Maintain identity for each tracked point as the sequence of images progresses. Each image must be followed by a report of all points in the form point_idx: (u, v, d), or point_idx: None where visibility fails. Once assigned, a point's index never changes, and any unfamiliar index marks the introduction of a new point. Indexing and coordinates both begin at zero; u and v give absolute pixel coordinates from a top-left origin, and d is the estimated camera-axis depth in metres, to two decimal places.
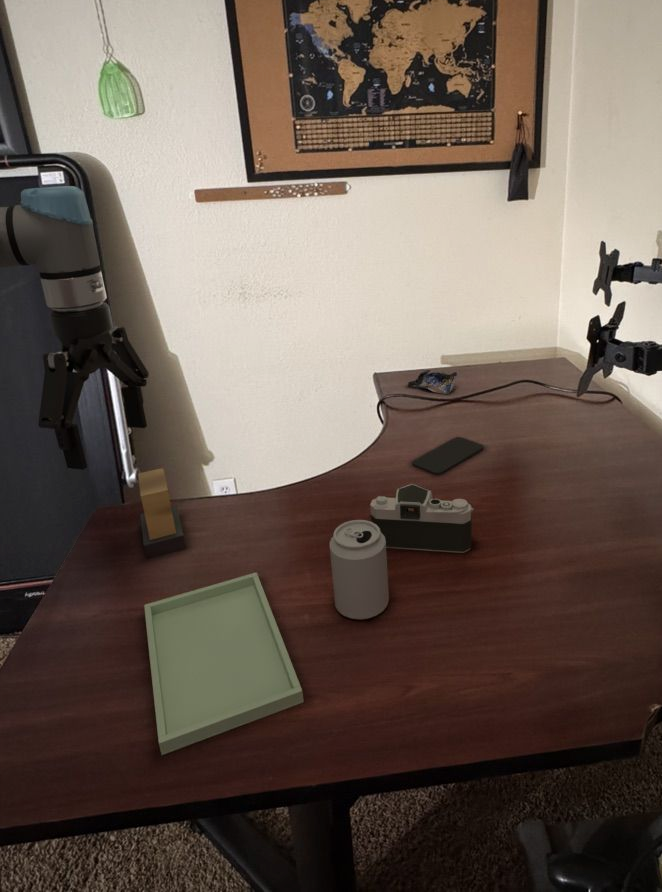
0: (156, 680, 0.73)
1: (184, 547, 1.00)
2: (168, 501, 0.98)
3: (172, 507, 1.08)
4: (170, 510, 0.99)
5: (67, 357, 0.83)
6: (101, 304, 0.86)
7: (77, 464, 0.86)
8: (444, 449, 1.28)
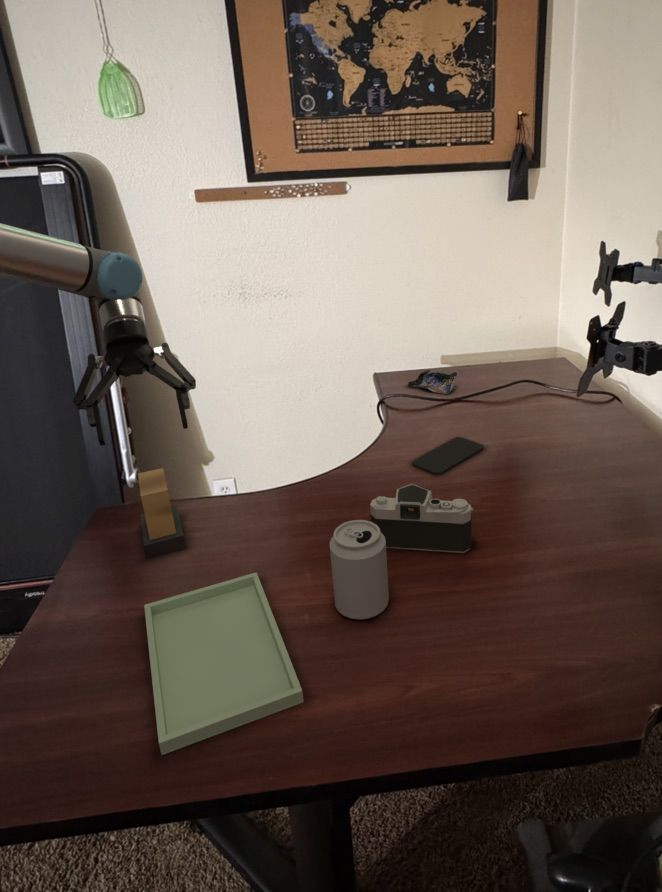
0: (156, 680, 0.73)
1: (184, 547, 1.00)
2: (168, 501, 0.98)
3: (172, 507, 1.08)
4: (170, 510, 0.99)
5: None
6: None
7: None
8: (444, 449, 1.28)
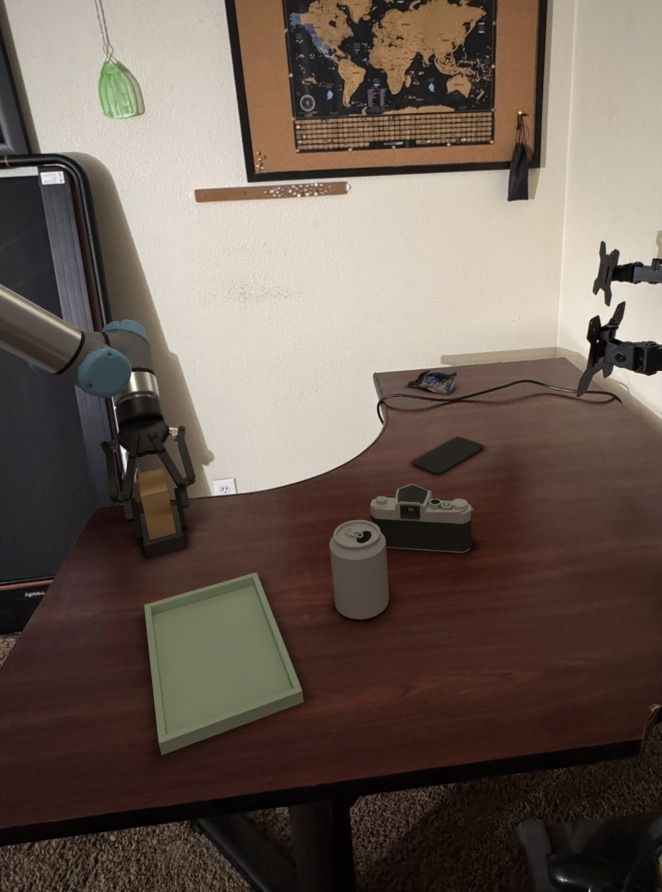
0: (156, 680, 0.73)
1: (184, 547, 1.00)
2: (168, 501, 0.98)
3: (172, 507, 1.08)
4: (170, 510, 0.99)
5: None
6: None
7: None
8: (444, 449, 1.28)
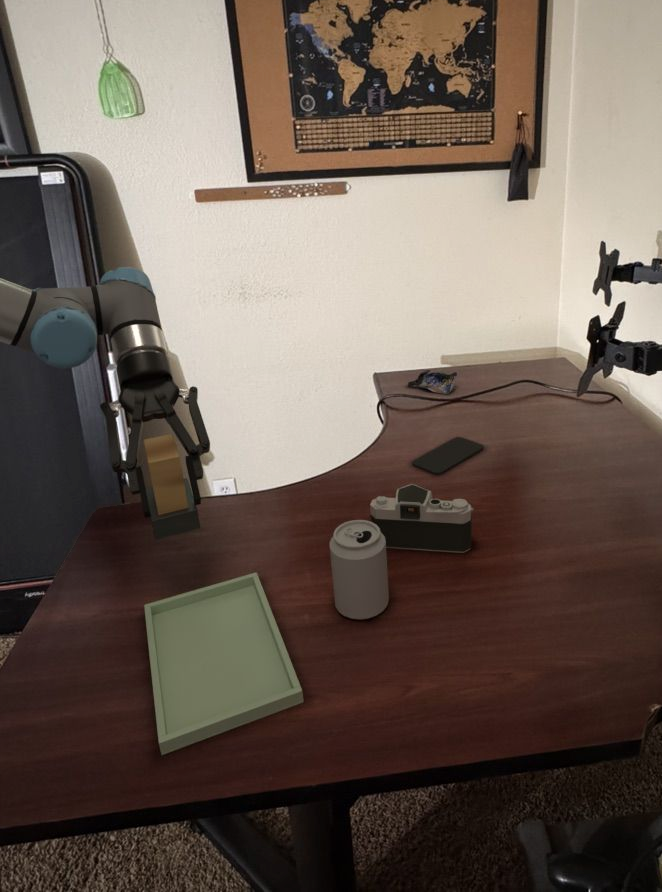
0: (156, 680, 0.73)
1: (198, 524, 0.87)
2: (180, 470, 0.84)
3: None
4: (182, 480, 0.85)
5: None
6: None
7: None
8: (444, 449, 1.28)
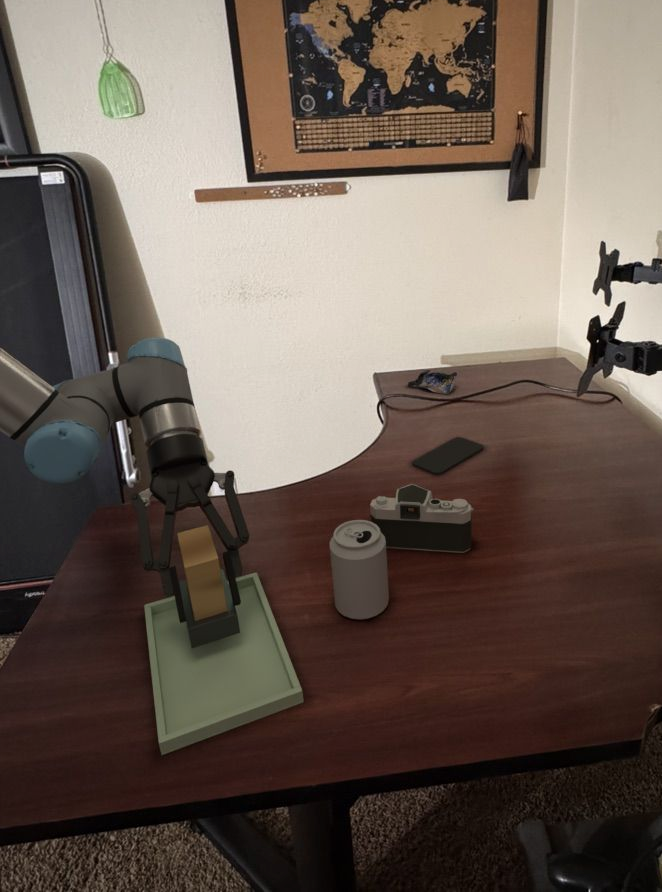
0: (156, 680, 0.73)
1: (238, 628, 0.79)
2: (219, 572, 0.77)
3: None
4: (221, 583, 0.77)
5: None
6: None
7: None
8: (444, 449, 1.28)
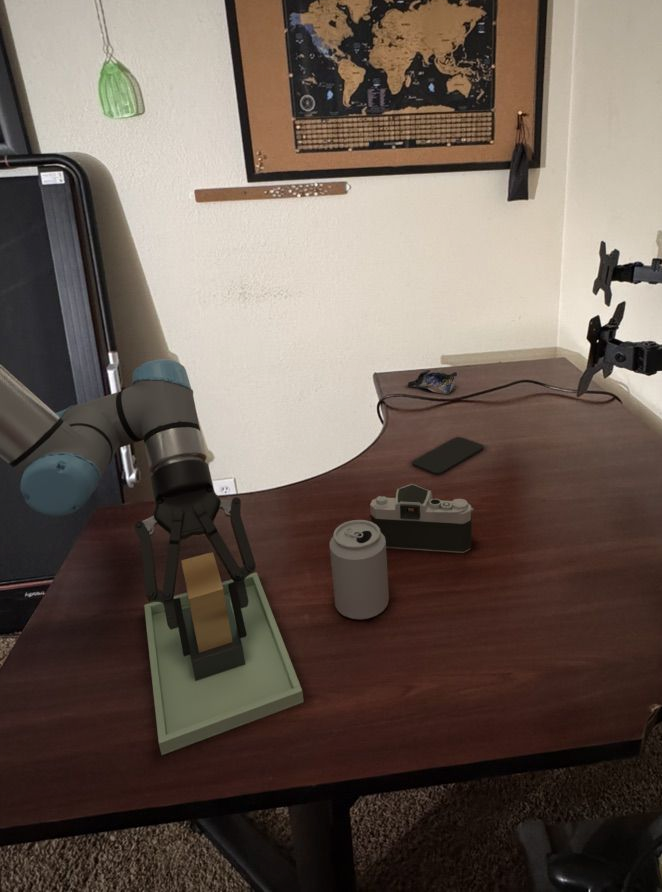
0: (156, 680, 0.73)
1: (243, 660, 0.77)
2: (224, 603, 0.74)
3: None
4: (226, 614, 0.75)
5: None
6: None
7: None
8: (444, 449, 1.28)
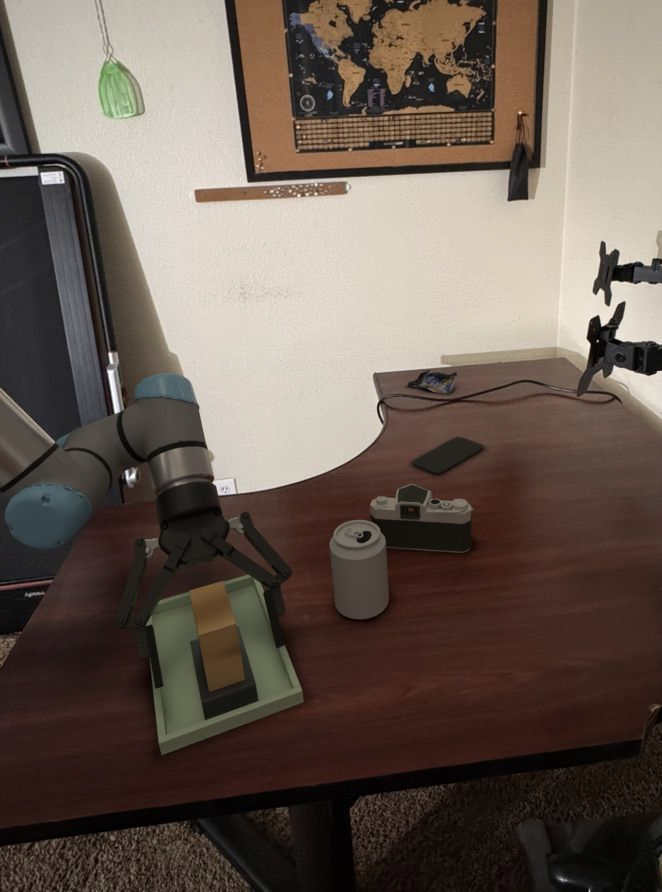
0: None
1: (256, 699, 0.71)
2: (236, 638, 0.69)
3: None
4: (238, 650, 0.69)
5: None
6: None
7: None
8: (444, 449, 1.28)
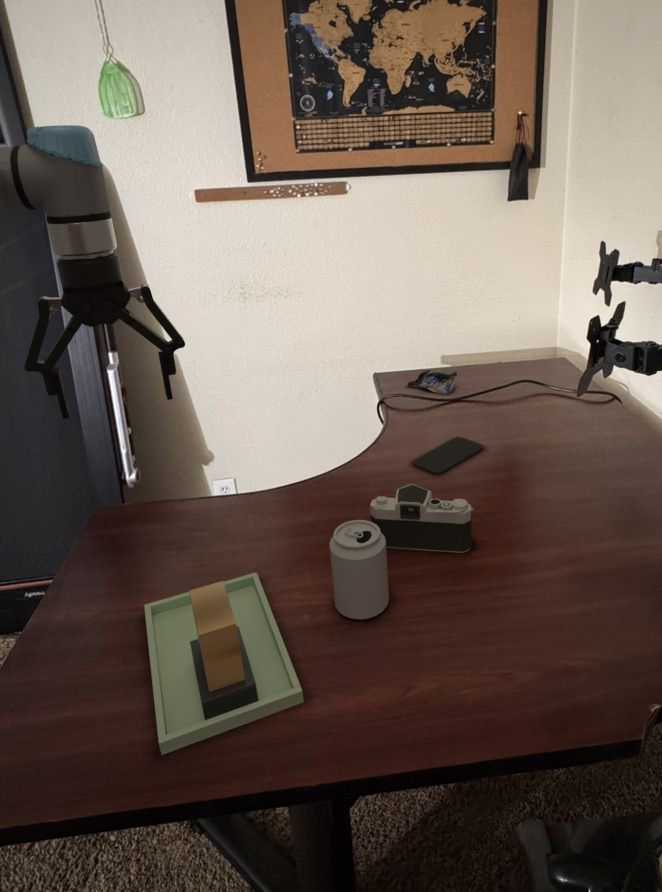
0: (156, 680, 0.73)
1: (256, 699, 0.71)
2: (236, 638, 0.69)
3: None
4: (238, 650, 0.69)
5: None
6: None
7: None
8: (444, 449, 1.28)
